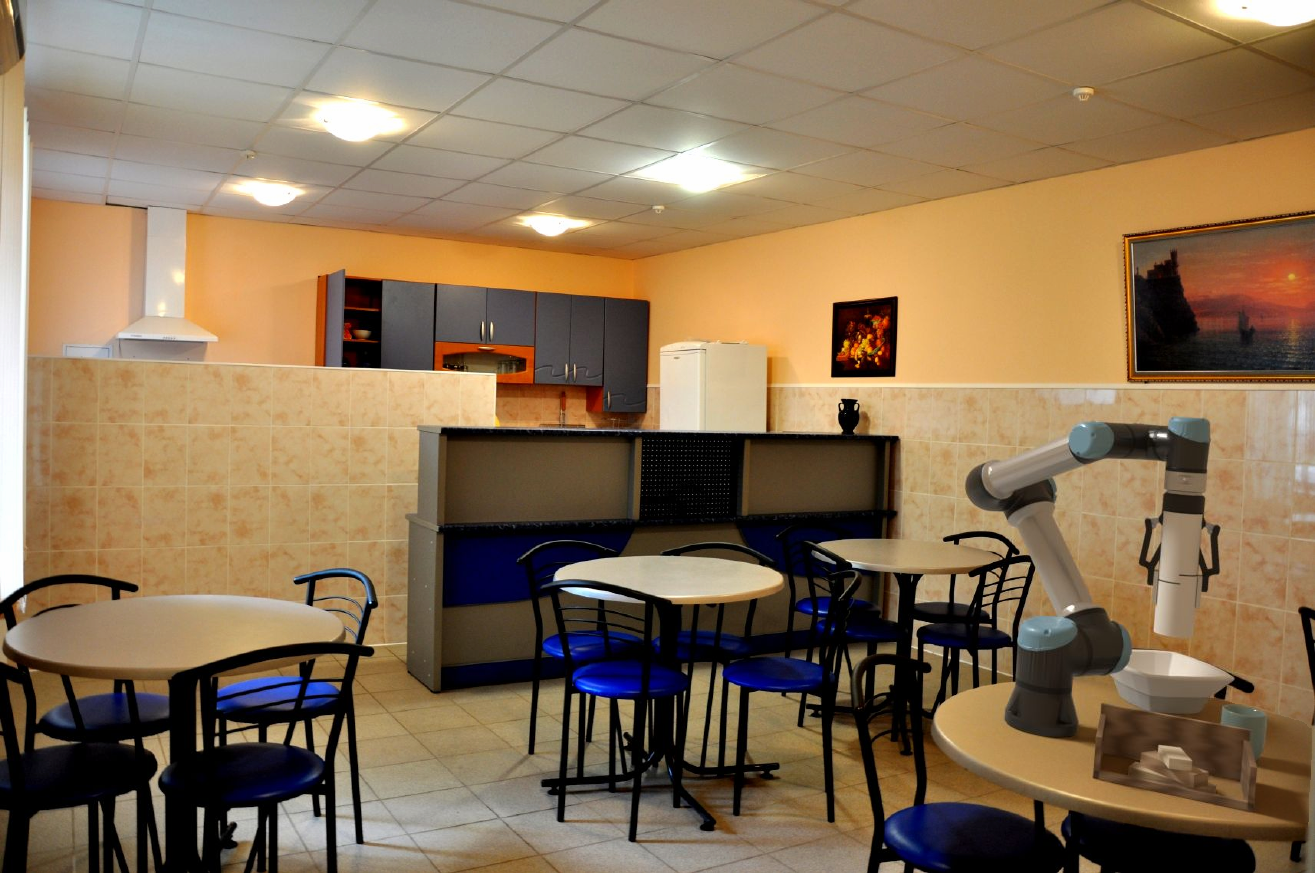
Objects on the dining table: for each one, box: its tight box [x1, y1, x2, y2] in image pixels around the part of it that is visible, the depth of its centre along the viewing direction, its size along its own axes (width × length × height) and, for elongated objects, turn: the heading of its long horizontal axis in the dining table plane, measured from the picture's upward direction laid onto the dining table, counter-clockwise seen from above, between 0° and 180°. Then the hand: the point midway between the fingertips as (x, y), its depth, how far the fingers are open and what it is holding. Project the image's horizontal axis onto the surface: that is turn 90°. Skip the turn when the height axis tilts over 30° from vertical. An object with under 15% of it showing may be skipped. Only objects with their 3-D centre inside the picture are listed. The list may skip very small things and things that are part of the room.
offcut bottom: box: [1127, 761, 1218, 794], centre depth 179 cm, size 14×4×2 cm, turn 47°
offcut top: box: [1158, 745, 1192, 771], centre depth 178 cm, size 7×4×2 cm, turn 167°
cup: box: [1220, 704, 1268, 762], centre depth 195 cm, size 8×8×10 cm
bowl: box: [1109, 649, 1235, 715], centre depth 230 cm, size 24×25×10 cm
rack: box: [1092, 702, 1258, 813], centre depth 182 cm, size 26×17×10 cm, turn 62°
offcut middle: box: [1139, 751, 1209, 788], centre depth 179 cm, size 11×4×2 cm, turn 25°
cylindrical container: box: [1153, 511, 1203, 639], centre depth 194 cm, size 7×7×25 cm
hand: (1175, 604), depth 194 cm, fingers closed on cylindrical container, 7 cm apart
